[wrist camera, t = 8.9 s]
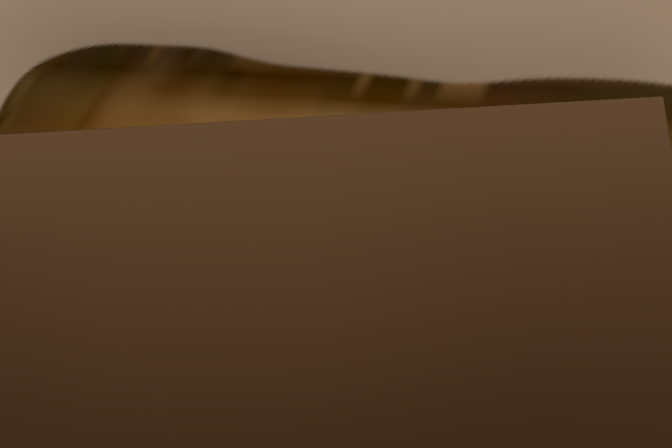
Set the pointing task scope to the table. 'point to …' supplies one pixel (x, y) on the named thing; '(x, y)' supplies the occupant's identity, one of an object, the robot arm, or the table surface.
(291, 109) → the table surface
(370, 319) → the walnut block
